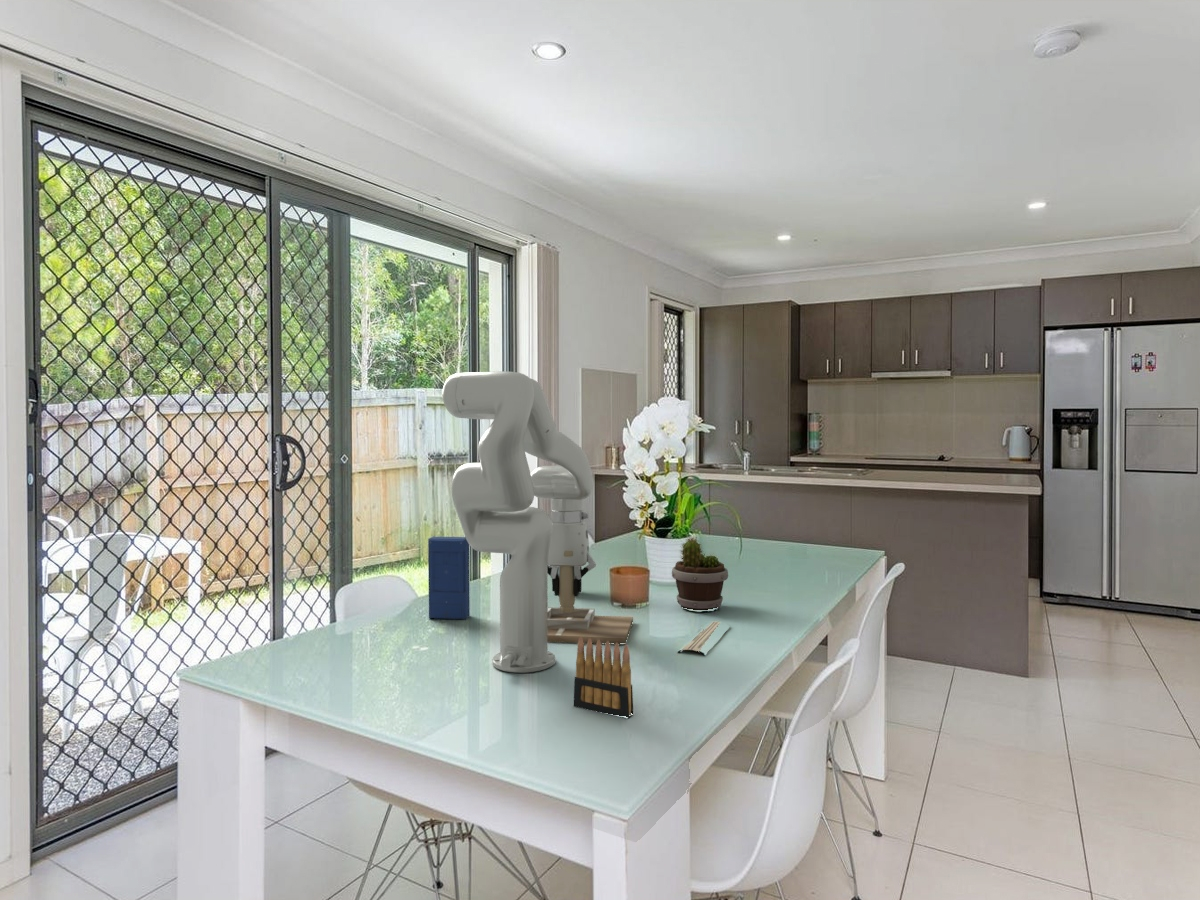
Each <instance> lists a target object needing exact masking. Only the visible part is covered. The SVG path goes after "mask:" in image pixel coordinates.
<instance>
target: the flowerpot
mask: <svg viewBox="0 0 1200 900" xmlns="http://www.w3.org/2000/svg"><path fill="white" fill-rule="evenodd" d="M690 535H691V536H690V537H687V539H685V541H683V543H680V546H681V549H680V552H681V556H680V557H679V558H680V560H679V561H677V562H676V563H675V566H674V567H672V568H671V569H672V570H671V577H672V578H673V579H674V580H675V584H676V588H677V591H678V594H677V595H676V602H677V604H678V605H680V608H681V607H683V608H687V609H693V610H708V609H713V608H717V607H720V606H721V605H722V602H723V600H724V597H723V595H722V591H723V587H724V581H727V580H728V577H729V571H728V568H726V567H725V564H724V563H723V562H721V561H719V557H718V556H716V555H715V553H712V552H711V553H710V554H709V555H706V553H703V552H704V550H703V549H702V547H703V545H702V543H700V541H699V540H697V538H698V537H696V536H695V537H693V535H692V534H690Z"/></svg>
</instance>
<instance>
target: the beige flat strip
mask: <svg viewBox="0 0 1200 900" xmlns="http://www.w3.org/2000/svg"><path fill="white" fill-rule="evenodd" d="M711 622H712V623H711V624H710V625H709V626H708V627H706V629H705V630H704V629H703V631H702V632H700V633H699V634H698V635H697V636H696V637H695V638H694V639H693V640H692V641H691V642H690V643H688V644H687V645H686V646H685V647H684V648H683V649H682V650H684V651H694V652H697V651H698V653H700V652H699V651H700V650H701V648H702V646H703V645H705V642H706V641H707V640H708V639H709V637H710V636H711V634H712V633H713V632H714V630H715V629H716V627H718V625H719V624H720V623H721V621H711Z"/></svg>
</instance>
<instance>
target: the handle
mask: <svg viewBox="0 0 1200 900" xmlns="http://www.w3.org/2000/svg"><path fill="white" fill-rule="evenodd" d="M564 556H565V557H568V556H573V551H565V552H564ZM574 579H575V574H574V566H560V573H559V595H558V602H559V607H560V611H561V612H563V613H571V612H573V611H574V608H575V606H574V605H575V603H576V602H575V601H576V596H574Z"/></svg>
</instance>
